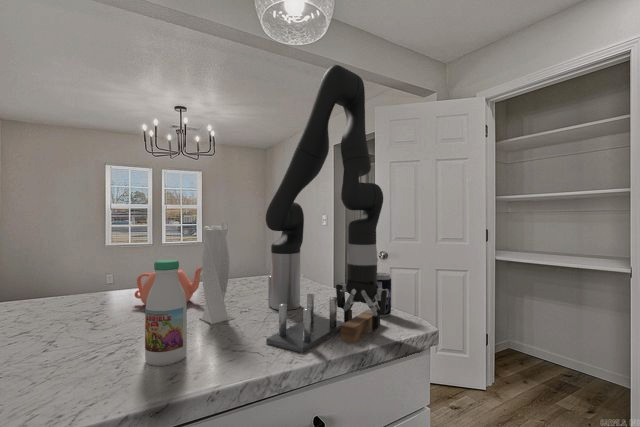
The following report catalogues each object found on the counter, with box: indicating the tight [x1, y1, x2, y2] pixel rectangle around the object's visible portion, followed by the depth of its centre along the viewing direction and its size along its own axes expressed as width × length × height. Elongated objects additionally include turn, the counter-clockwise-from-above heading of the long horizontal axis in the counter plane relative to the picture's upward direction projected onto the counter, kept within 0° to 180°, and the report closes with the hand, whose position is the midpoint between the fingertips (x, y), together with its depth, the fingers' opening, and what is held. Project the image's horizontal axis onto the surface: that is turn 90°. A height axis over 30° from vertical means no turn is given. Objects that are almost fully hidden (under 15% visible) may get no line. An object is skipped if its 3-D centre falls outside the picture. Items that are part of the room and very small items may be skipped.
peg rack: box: [265, 293, 345, 354], centre depth 84 cm, size 10×20×8 cm, turn 149°
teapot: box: [134, 266, 202, 306], centre depth 112 cm, size 22×16×12 cm
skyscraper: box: [199, 219, 236, 326], centre depth 95 cm, size 8×8×28 cm
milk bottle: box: [144, 259, 188, 367], centre depth 70 cm, size 8×8×20 cm
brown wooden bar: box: [340, 308, 373, 344], centre depth 86 cm, size 16×4×4 cm, turn 149°
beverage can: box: [375, 272, 392, 318], centre depth 101 cm, size 6×6×12 cm
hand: (361, 327), depth 86 cm, fingers open, 6 cm apart
